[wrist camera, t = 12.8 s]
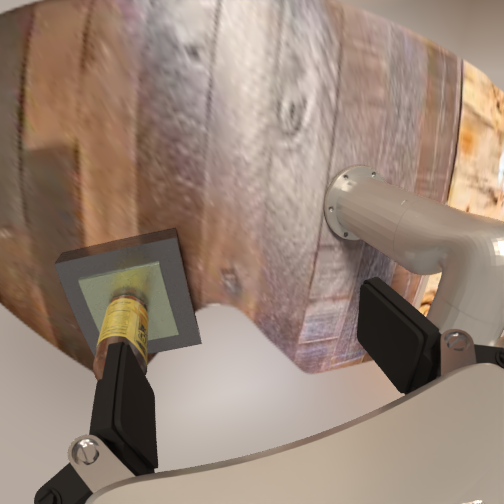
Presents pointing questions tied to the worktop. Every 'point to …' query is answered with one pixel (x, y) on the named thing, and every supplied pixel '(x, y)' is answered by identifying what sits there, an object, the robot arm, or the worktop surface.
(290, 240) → the worktop surface
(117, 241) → the stand
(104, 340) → the sauce bottle
